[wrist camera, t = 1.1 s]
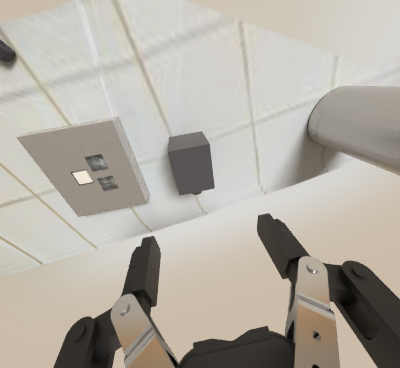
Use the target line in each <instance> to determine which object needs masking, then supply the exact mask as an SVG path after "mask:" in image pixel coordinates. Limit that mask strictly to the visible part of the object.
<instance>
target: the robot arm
mask: <svg viewBox="0 0 400 368" xmlns="http://www.w3.org/2000/svg"><path fill="white" fill-rule="evenodd" d="M308 133H309V135H310V137H311V139H312V140H313V141H315V142H317V143H319V144H322V145H324V146H327V147H330V148H332V149H334V150H337V151H339V152H342V153H344V154H347V155H349V156H352V157H354V158H357V159H359V160H362V161H364V162H367V163H370V164H372V165H375V166H377V167H380V168H382V169H385V170H388V171H390V172H392V173H395V174H397V175H400V87H374V86H345V87H340V88H337V89H335V90H333V91H331V92H330V93H328V94H327V95H326V96H325V97H323V98H322V100H321V101H320V102H319V103H318V104H317V106H316V107H315V109H314V110H313V112H312V114H311V116H310V120H309V124H308ZM257 232H258V235H259V237H260V239H261V241H262V243H263V244H264V246H265V248H266V250H267V252H268V253H269V255H270V257H271V259H272V261H273V262H274V264H275V266H276V268H277V270H278V272H279V273H280V275H281V277H282V279H286V278H289V280H290V282H291V287H290V297H289V307H288V316H287V321H286V327H285V336H283V335H281V334H279V333H276V332H273V331H269V329H268V326H265V327H261V328H256V329H252V330H249V331H247V332H246V333H244V334H243V335H241V336H240V337H238V338H237V339H235V340H233V341H225V340H217V339H208V340H204V341H199V342H195V343H193V347H194V348H193V349H191V350H190V351H189V352H188V353H187V354H186V355H185V356H184V357H183V358H182V360H181V361H180V362H179V363H178V361H177V359H176V357H175V356H174V354H173V352H172V351H171V349H170V348H169V347H168V345H167V343H166V342H165V340H164V339H163V337H162V335H161V333H160V331H159V330H158V328H157V326H156V325H155V323H154V321H153V320H152V318H151V316H150V312H151V307H154V306H156V304H157V293H158V281H159V269H160V257H161V253H160V248H159V246H158V244H157V241H156V240H155V237H154V236H151V237H146V238H143V240H142V244H141V246H140V247H136V249H135V250H134V252H133V254H132V257H131V261H130V265H129V269H128V272H127V276H126V280H125V284H124V288H123V292H122V295H121V297H120V298H119V299H118V300H117V301H116V303H115V304H114V306H113V307H112V308H111V309H110V310H108V311H106V312H105V313H103V314H101V315H99V316H98V317H96V318H94V319H93V318H91V317H84V318H82V319H80V320H78V321H77V322H76V323H75V324H74V325H73V326H72V327H71V329H70V330H69V331H68V333H67V335H66V337H65V340H64V342H63V345H62V347H61V350H60V352H59V355H58V357H57V360H56V363H55V365H54V368H112V365H113V360H114V355H115V351H116V350H117V349H119V348H120V347H122V348H123V351H124V354H125V359H124V363H125V367H126V368H340V362H339V352H338V342H337V330H336V320H335V315H334V312H333V311H331V309H330V301H331V302H334V303H335V304H336V306H337V308H338V309H339V310H340V312H341V314H342V315H343V317H344V318H345V320H346V321H347V323H348V324H349V326H350V327H351V329H352V330H353V332H354V333H355V334H356V336H357V338H358V339H359V340H360V342H361V343H362V345H363V346H364V348H365V349H366V351H367V352H368V354H369V355H370V357H371V358H372V360H373V361H374V363H375V364H376V366H377V367H378V368H400V299H399V298H398V297H397V296H396V295H395V294H394V293H393V292H392V291H391V290H390V289H389V288H388V287H387V286H386V285H385V284H384V283H383V282H382V281H381V280H380V279H379V278H378V277H377V276H376V275H375V274H374V273H373V272H372V271H371V270H370V269H369V268H368V267H366V266H364V265H363V264H360V263H358V262H355V261H346V262H344V263H343V265H342V266H341V265H332V264H325V263H322V262H320V261H319V260H318V259H315V258H313V257H311V256H309V254H308V253H307V252H306V251H305V249H304V248H303V247H302V245H301V244H300V243H299V242H298V240H297V239H296V238H295V236H293V234H292V233H291V231H289V229H288V228H287V226H286V225H285V224H284V223H283V222H281V221H280V220H278V219H275V220H274V219H273V218H272V216H271V215H270V214H263V215H259V216H258V223H257Z"/></svg>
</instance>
